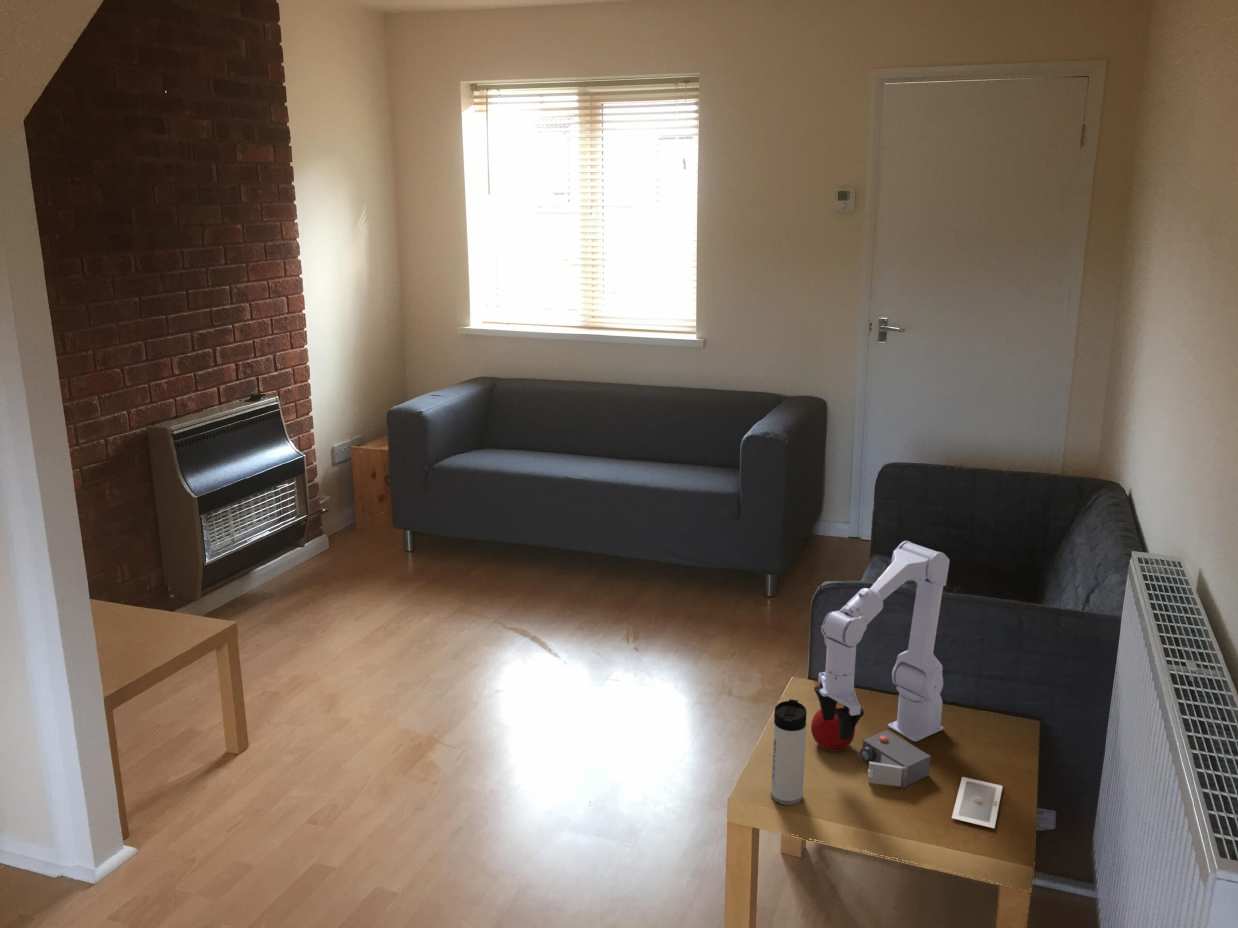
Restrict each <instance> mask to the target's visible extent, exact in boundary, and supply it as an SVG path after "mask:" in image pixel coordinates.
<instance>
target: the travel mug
mask: <svg viewBox="0 0 1238 928" xmlns="http://www.w3.org/2000/svg"><path fill="white" fill-rule="evenodd" d="M807 711H808V710H807V708H806V707H805V706H804V705H803V703H800V702H799V700H797V699H790V698H789V699H788V700H785V701H781V702H779V703H778V704H776V705H775V707H774V713H773V715H774V718H773V730H772V731H773V733H772V754H771V755H772V758H771V759H772V760H771V761H772V762H771V781H770V782H771V783H770V786H771V788H770V797H771V799H772V798H773V799H774V800H775V802H776V801H777V802H779V803H783V804H785V805H784V806H794V805H793V804H795V805H797V803H798V804H799V803H801V801H802V799H803V798H804V797H803V796H804V794H803V793H804V791H803V790H804V775H805V774H804V773H805V759H806V758H805V757H806V756H805V754H806V735H807V713H808V712H807ZM773 799H772V800H773ZM774 800H773V801H774ZM777 802H776V803H777ZM779 803H778V804H779ZM791 804H792V805H791Z"/></svg>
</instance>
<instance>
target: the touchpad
mask: <svg viewBox="0 0 1238 928" xmlns="http://www.w3.org/2000/svg"><path fill="white" fill-rule="evenodd" d="M959 783H960V784H959V787H958V790H957V796H956V800H955V804H954V807H953V811H952V815H951V819H954V820H958V821H962V822H967V823H971V824H974V825H978V826H982V827H987V828H991V829H995V827H996V823H997V817H998V811H999V806H1000V801H1001V797H1002V796H1001V795H1002V792H1003V785H1001V784H996V783H991V782H988V781H987V782H986V781H982V780H978V779H973V778H970V777H965V776H961V780H960V782H959Z"/></svg>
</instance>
